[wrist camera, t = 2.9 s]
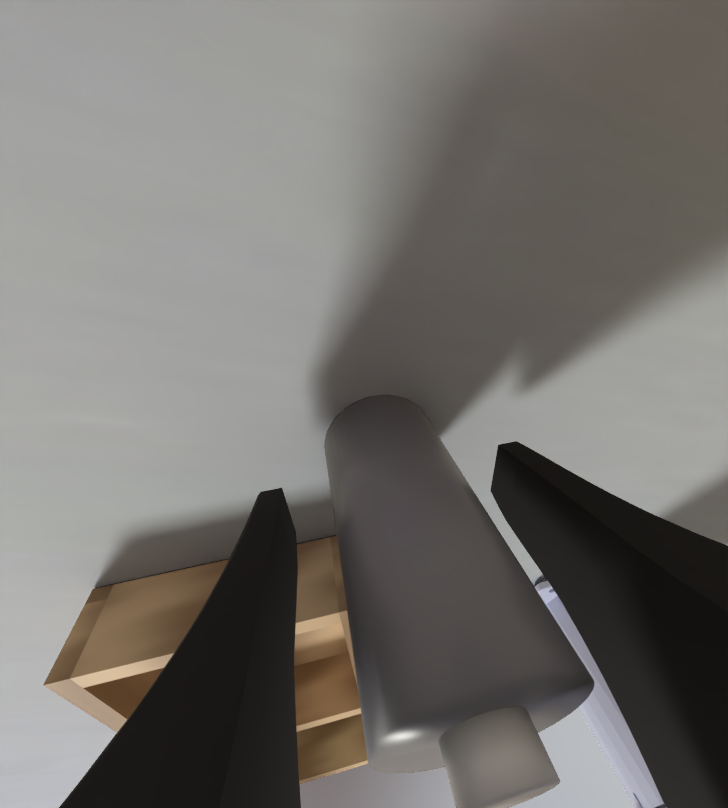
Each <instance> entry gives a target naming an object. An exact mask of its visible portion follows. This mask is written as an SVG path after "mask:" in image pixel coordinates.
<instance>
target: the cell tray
mask: <svg viewBox="0 0 728 808" xmlns="http://www.w3.org/2000/svg"><path fill="white" fill-rule="evenodd" d="M297 559H298V579H297V604H296V627H295V650H294V678H295V704H296V728H297V749H298V769H299V784H302V783H305V782H308V781H312V780H315V779H318V778H322V777H325V776H328V775H332V774H335V773H338V772H341V771H345V770H348V769H352V768H355V767H358V766H361V765H365V764H368V759H367V751H366V744H365V737H364V730H363V722H362V715H361V708H360V701H359V693H358V686H357V679H356V672H355V664H354V657H353V650H352V643H351V635H350V628H349V621H348V614H347V606H346V599H345V592H344V585H343V577H342V570H341V563H340V556H339V548H338V541H337V536H333V537H328V538H324V539H319V540H315V541H310V542H305V543H301V544H297ZM228 561H229V559H228V560H223V561H219V562H214V563H209V564H205V565H200V566H196V567H191V568H187V569H182V570H178V571H173V572H168V573H164V574H159V575H155V576H150V577H146V578H141V579H136V580H132V581H127V582H123V583H118V584H114V585H109V586H104V587H100V588H95V589H93V590H92V592H91V594H90V596H89V598H88V600H87V602H86V604H85V606H84V608H83V609H82V611H81V613H80V615H79V617H78V619H77V621H76V623H75V625H74V627H73V629H72V631H71V633H70V635H69V637H68V638H67V640H66V642H65V644H64V646H63V648H62V650H61V652H60V654H59V656H58V658H57V660H56V662H55V664H54V666H53V668H52V669H51V671H50V673H49V675H48V677H47V679H46V681H45V683H44V686H45V687H47V688H48V689H50V690H51V691H53V692H55V693H56V694H58V695H59V696H61V697H62V698H64V699H66V700H67V701H69V702H70V703H72V704H73V705H75V706H77V707H78V708H80V709H81V710H83V711H84V712H86V713H88V714H89V715H91V716H92V717H94V718H95V719H97V720H99V721H100V722H102V723H103V724H105V725H106V726H108V727H110V728H111V729H113V730H114V731H116V732H118V731H119V730H120V729H121V727H122V726H123V725H124V723H125V722H126V721H127V719H128V718H129V717H130V715H131V714H132V713H133V711H134V710H135V709H136V707H137V706H138V704H139V703H140V702H141V700H142V699H143V697H144V696H145V695H146V693H147V692H148V690H149V689H150V688H151V686H152V685H153V683H154V682H155V680H156V679H157V677H158V676H159V674H160V673H161V672H162V670H163V669H164V667H165V666H166V664H167V663H168V661H169V660H170V658H171V657H172V655H173V654H174V653H175V651H176V649H177V648H178V646H179V645H180V643H181V642H182V640H183V639H184V637H185V635H186V634H187V632H188V631H189V629H190V628H191V626H192V624H193V623H194V621H195V619H196V618H197V616H198V614H199V613H200V611H201V609H202V608H203V606H204V604H205V603H206V601H207V599H208V597H209V596H210V594H211V592H212V590H213V588H214V587H215V585H216V583H217V581H218V579H219V578H220V576H221V574H222V572H223V570H224V568H225V567H226V565H227V563H228Z"/></svg>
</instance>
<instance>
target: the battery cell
mask: <svg viewBox="0 0 728 808" xmlns="http://www.w3.org/2000/svg"><path fill="white" fill-rule="evenodd" d="M325 454H326V461H327V469H328V476H329V483H330V490H331V498H332V505H333V512H334V519H335V527H336V534H337V541H338V548H339V556H340V563H341V570H342V577H343V585H344V592H345V599H346V606H347V614H348V621H349V628H350V635H351V643H352V650H353V657H354V664H355V672H356V679H357V686H358V693H359V701H360V708H361V715H362V722H363V730H364V737H365V744H366V751H367V759H368V764H369V765H370V767H372V768H373V769H375V770H377V771H380V772H385V773H413V772H421V771H427V770H433V769H437V768H442V767H445V769H446V772H447V776H448V779H449V783H450V786H451V790H452V794H453V797H454V801H455V805H456V808H509V807H512V806H515V805H517V804H520V803H522V802H525V801H527V800H530V799H532V798H534V797H536V796H538V795H541V794H542V793H544V792H546V791H548V790H550V789H552V788H553V787H555V786H556V785H557V784H559V783H560V779H559V778H558V775H557V773H556V771H555V769H554V767H553V764H552V762H551V760H550V758H549V756H548V754H547V752H546V750H545V747H544V745H543V743H542V741H541V739H540V737H539V735H538V732H540V731H542V730H544V729H546V728H548V727H549V726H551V725H553V724H555V723H556V722H558V721H559V720H561V719H563V718H564V717H566V716H567V715H568V714H570V713H571V712H573V711H574V710H575V709H576V708H578V707H579V706H580V705H581V704H582V703H583V702H584V701H585V700H586V699H587V698H588V697H589V696H590V694H591V693H592V691H593V688H594V680H593V678H592V676H591V675H590V673H589V672H588V670H587V669H586V667H585V665H584V664H583V662H582V661H581V659H580V658H579V656H578V654H577V653H576V651H575V650H574V648H573V647H572V645H571V644H570V642H569V640H568V639H567V637H566V636H565V634H564V633H563V631H562V629H561V628H560V626H559V625H558V623H557V622H556V620H555V618H554V617H553V615H552V614H551V612H550V611H549V609H548V607H547V606H546V604H545V603H544V601H543V600H542V598H541V596H540V595H539V593H538V592H537V590H536V589H535V587H534V585H533V584H532V582H531V581H530V579H529V578H528V576H527V575H526V573H525V571H524V570H523V568H522V567H521V565H520V564H519V562H518V560H517V559H516V557H515V556H514V554H513V553H512V551H511V549H510V548H509V546H508V545H507V543H506V542H505V540H504V538H503V537H502V535H501V534H500V532H499V531H498V529H497V527H496V526H495V524H494V523H493V521H492V520H491V518H490V517H489V515H488V513H487V512H486V510H485V509H484V507H483V506H482V504H481V502H480V501H479V499H478V498H477V496H476V495H475V493H474V491H473V490H472V488H471V487H470V485H469V484H468V482H467V480H466V479H465V477H464V476H463V474H462V473H461V471H460V469H459V468H458V466H457V465H456V463H455V462H454V460H453V458H452V457H451V455H450V454H449V452H448V451H447V449H446V448H445V446H444V444H443V443H442V441H441V440H440V438H439V437H438V435H437V433H436V432H435V430H434V429H433V427H432V426H431V424H430V422H429V421H428V419H427V418H426V416H425V415H424V413H423V411H422V410H421V409H420V408H419V407H418V406H417V405H415V404H414V403H412V402H411V401H409V400H407V399H404V398H401V397H397V396H391V395H380V396H373V397H368V398H365V399H362V400H360V401H357V402H355V403H353V404H352V405H350V406H348V407H347V408H346V409H344V410H343V411H342V412H341V413H340V414H339V415H338V416H337V417H336V418H335V419H334V421H333V422H332V423H331V425H330V427H329V429H328V431H327V434H326V438H325Z"/></svg>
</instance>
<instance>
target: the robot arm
mask: <svg viewBox="0 0 728 808" xmlns="http://www.w3.org/2000/svg"><path fill="white" fill-rule="evenodd" d="M491 492H492V494H493V496H494V498H495V500H496V502H497V504H498V506H499V508H500V510H501V512H502V514H503V516H504V517H505V519H506V521H507V522H508V524H509V525H510V527H511V528H512V530H513V531H514V533H515V534H516V536H517V537H518V539H519V540H520V542H521V543H522V544H523V546H524V547H525V549H526V550H527V552H528V553H529V554H530V556H531V557H532V559H533V560H534V562H535V563H536V565H537V566H538V567H539V569H540V570H541V572H542V573H543V575H544V576H545V578H546V579H547V580H548V581H544V582H541V583H539V584H537V585H536V586H535V589H536V590H537V592H538V593H539V595H540V596H541V598H542V600H543V601H544V603H545V604H546V606H547V607H548V609H549V611H550V612H551V614H552V615H553V617H554V618H555V620H556V622H557V623H558V625H559V626H560V628H561V629H562V631H563V633H564V634H565V636H566V637H567V639H568V640H569V642H570V644H571V645H572V647H573V648H574V650H575V651H576V653H577V654H578V656H579V658H580V659H581V661H582V662H583V664H584V665H585V667H586V669H587V670H588V672H589V673H590V675H591V676H592V678H593V680H594V688H593V691H592V693H591V694H590V696H589V697H588V698H587V699H586V700H585V701H584V702H583V703H582V704H581V705H580V706H579V707H578V709H579V711H580V713H581V714H582V716H583V718H584V720H585V721H586V723H587V725H588V727H589V728H590V730H591V732H592V734H593V735H594V737H595V739H596V741H597V743H598V744H599V746H600V747H601V749H602V751H603V753H604V755H605V757H606V758H607V760H608V762H609V763H610V765H611V767H612V769H613V771H614V772H615V774H616V776H617V777H618V779H619V781H620V783H621V784H622V786H623V788H624V790H625V792H626V793H627V795H628V797H629V798H630V800H631V802H632V804H633V806H634V807H635V808H666V807H667V808H728V546H727V545H724V544H722V543H719V542H716V541H714V540H711V539H709V538H706V537H704V536H701V535H699V534H697V533H694V532H692V531H689V530H687V529H685V528H682V527H680V526H678V525H676V524H673V523H671V522H669V521H667V520H664V519H662V518H660V517H658V516H655V515H653V514H651V513H649V512H647V511H645V510H642V509H640V508H638V507H636V506H634V505H632V504H630V503H628V502H626V501H624V500H622V499H620V498H618V497H616V496H614V495H612V494H610V493H608V492H607V491H605V490H603V489H601V488H599V487H597V486H595V485H593V484H592V483H590V482H588V481H586V480H584V479H583V478H581V477H579V476H577V475H575V474H574V473H572V472H570V471H568V470H566V469H565V468H563V467H561V466H559V465H558V464H556V463H554V462H552V461H551V460H549V459H547V458H546V457H544V456H542V455H540V454H539V453H537V452H535V451H533V450H532V449H530V448H528V447H526V446H524V445H522V444H520V443H519V442H517V441H516V442H511V443H506V444H501V445H498V451H497V456H496V462H495V468H494V474H493V480H492V486H491ZM297 579H298V559H297V543H296V532H295V528H294V525H293V522H292V519H291V515H290V512H289V509H288V506H287V503H286V499H285V496H284V493H283V490H282V488H279V489H274V490H269V491H264V492H261V493H260V494H259V495H258V497H257V499H256V502H255V504H254V507H253V509H252V512H251V514H250V516H249V519H248V521H247V523H246V525H245V528H244V530H243V532H242V534H241V536H240V538H239V540H238V542H237V544H236V546H235V549H234V551H233V553H232V555H231V557H230V559H229V561H228V563H227V565H226V567H225V568H224V570H223V572H222V574H221V576H220V578H219V579H218V581H217V583H216V585H215V587H214V588H213V590H212V592H211V594H210V596H209V597H208V599H207V601H206V603H205V604H204V606H203V608H202V609H201V611H200V613H199V614H198V616H197V618H196V619H195V621H194V623H193V624H192V626H191V628H190V629H189V631H188V632H187V634H186V635H185V637H184V639H183V640H182V642H181V643H180V645H179V646H178V648H177V649H176V651H175V653H174V654H173V655H172V657H171V658H170V660H169V661H168V663H167V664H166V666H165V667H164V669H163V670H162V672H161V673H160V674H159V676H158V677H157V679H156V680H155V682H154V683H153V685H152V686H151V688H150V689H149V690H148V692H147V693H146V695H145V696H144V697H143V699H142V700H141V702H140V703H139V704H138V706H137V707H136V709H135V710H134V711H133V713H132V714H131V715H130V717H129V718H128V719H127V721H126V722H125V723H124V725H123V726H122V727H121V729H120V730H119V731H118V732H117V734H116V735H115V736H114V738H113V739H112V740H111V742H110V743H109V744H108V746H107V747H106V748H105V750H104V751H103V752H102V753H101V755H100V756H99V757H98V759H97V760H96V761H95V763H94V764H93V765H92V767H91V768H90V769H89V771H88V772H87V773H86V774H85V776H84V777H83V778H82V780H81V781H80V782H79V783H78V785H77V786H76V787H75V788H74V790H73V791H72V792H71V793H70V795H69V796H68V797H67V798H66V800H65V801H64V802H63V803H62V805H61V806H60V807H59V808H301V804H300V786H299V769H298V749H297V728H296V704H295V678H294V650H295V627H296V604H297Z"/></svg>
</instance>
